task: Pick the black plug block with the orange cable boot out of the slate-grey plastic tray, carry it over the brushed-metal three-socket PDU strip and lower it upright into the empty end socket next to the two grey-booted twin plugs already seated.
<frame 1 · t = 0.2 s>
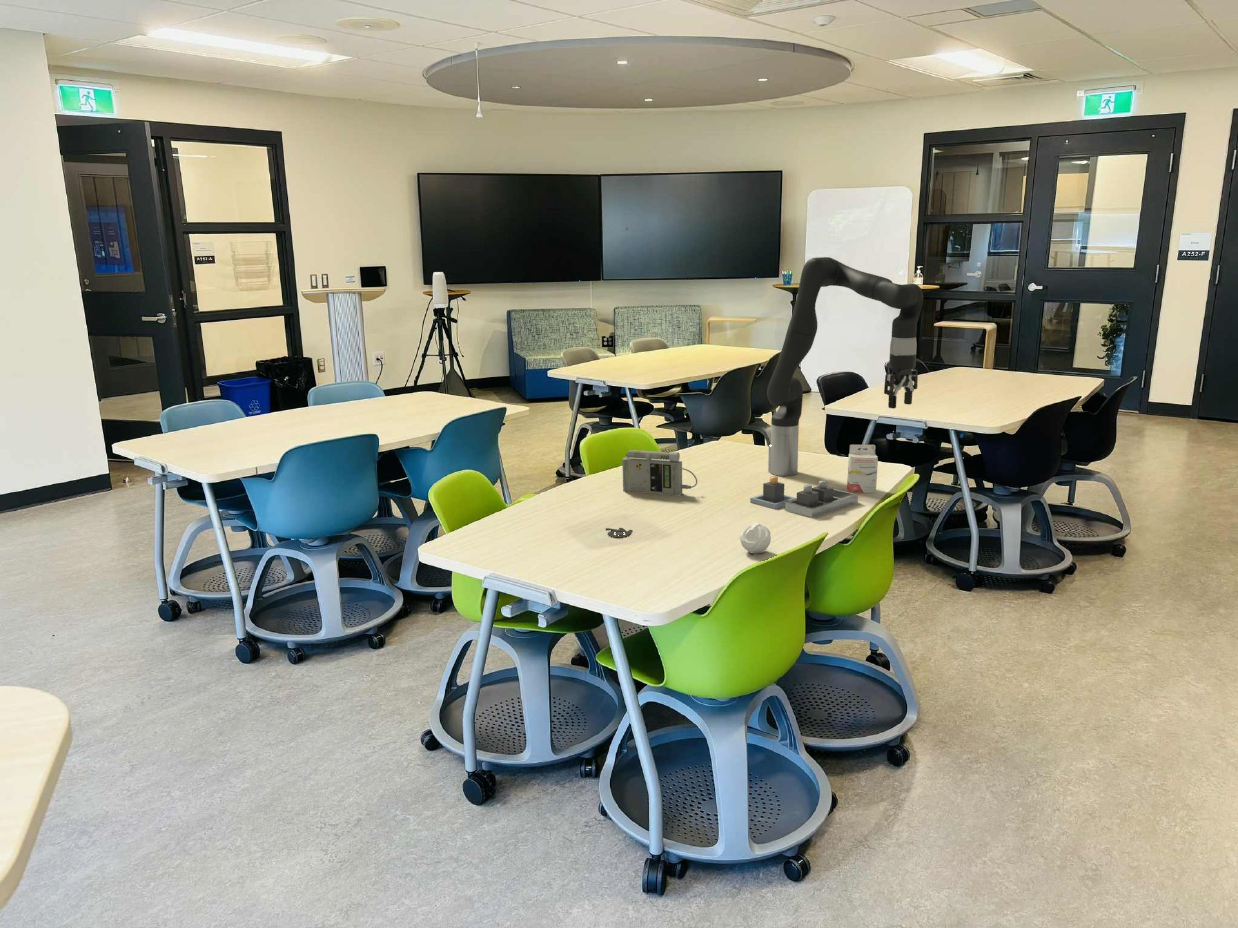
hand: (900, 406, 273), 29 cm above the table, fingers open, 8 cm apart
geiger counter: (660, 493, 294), on the table
twin plug b: (822, 494, 271), in the pdu strip
pdu strip: (821, 507, 272), on the table
twin plug a: (807, 511, 268), resting on pdu strip
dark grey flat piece: (614, 532, 256), on the table
plug: (773, 489, 277), in the tray
ink cartridge box: (861, 491, 290), on the table
crumpled white ball: (755, 553, 236), on the table
tray: (773, 503, 278), on the table
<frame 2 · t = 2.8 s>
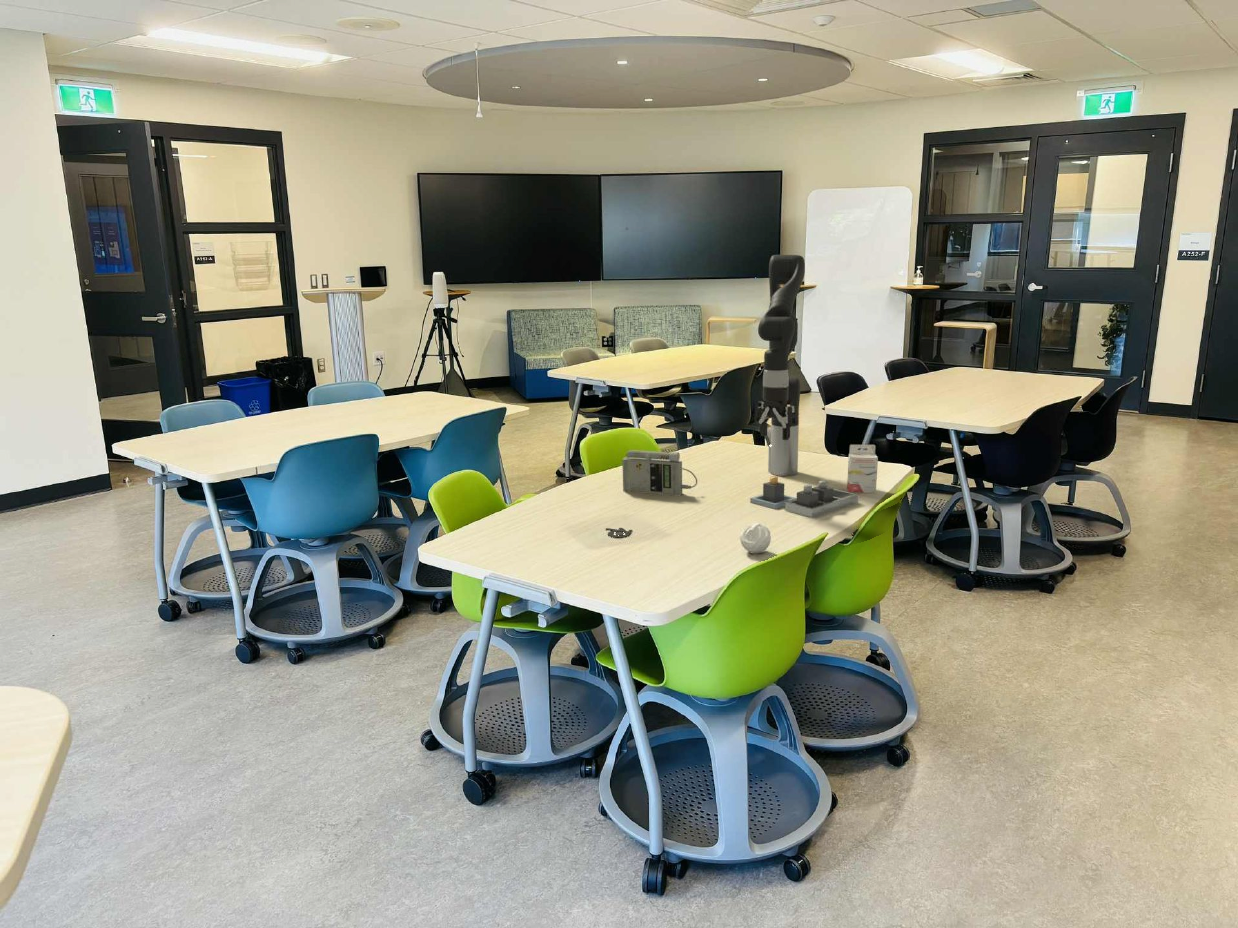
hand: (774, 437, 273), 21 cm above the table, fingers open, 8 cm apart
nothing on the table moved.
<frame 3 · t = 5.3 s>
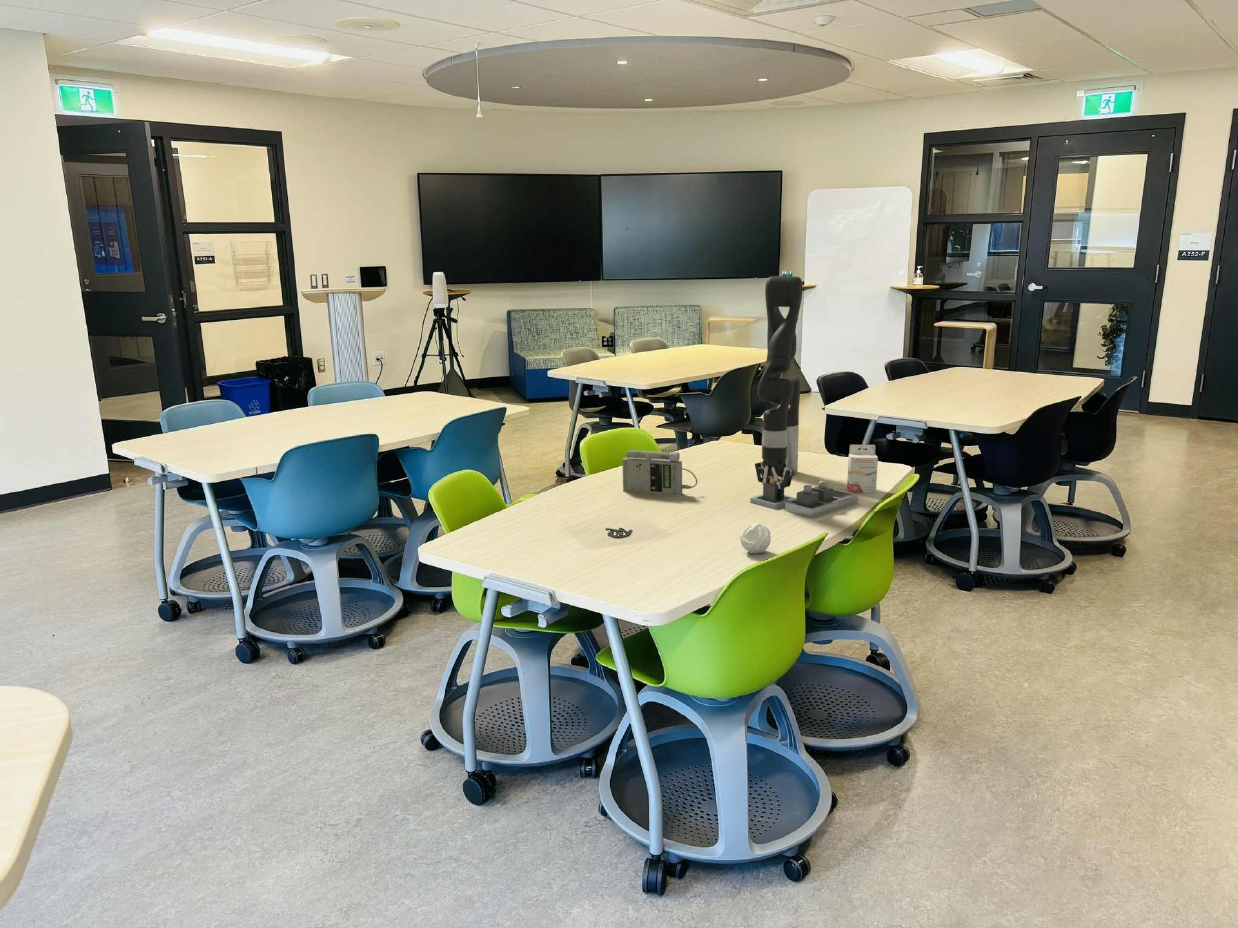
hand: (773, 498, 277), 2 cm above the table, fingers closed on plug, 4 cm apart
plug: (773, 489, 277), in the tray, touching gripper
everything else where it was.
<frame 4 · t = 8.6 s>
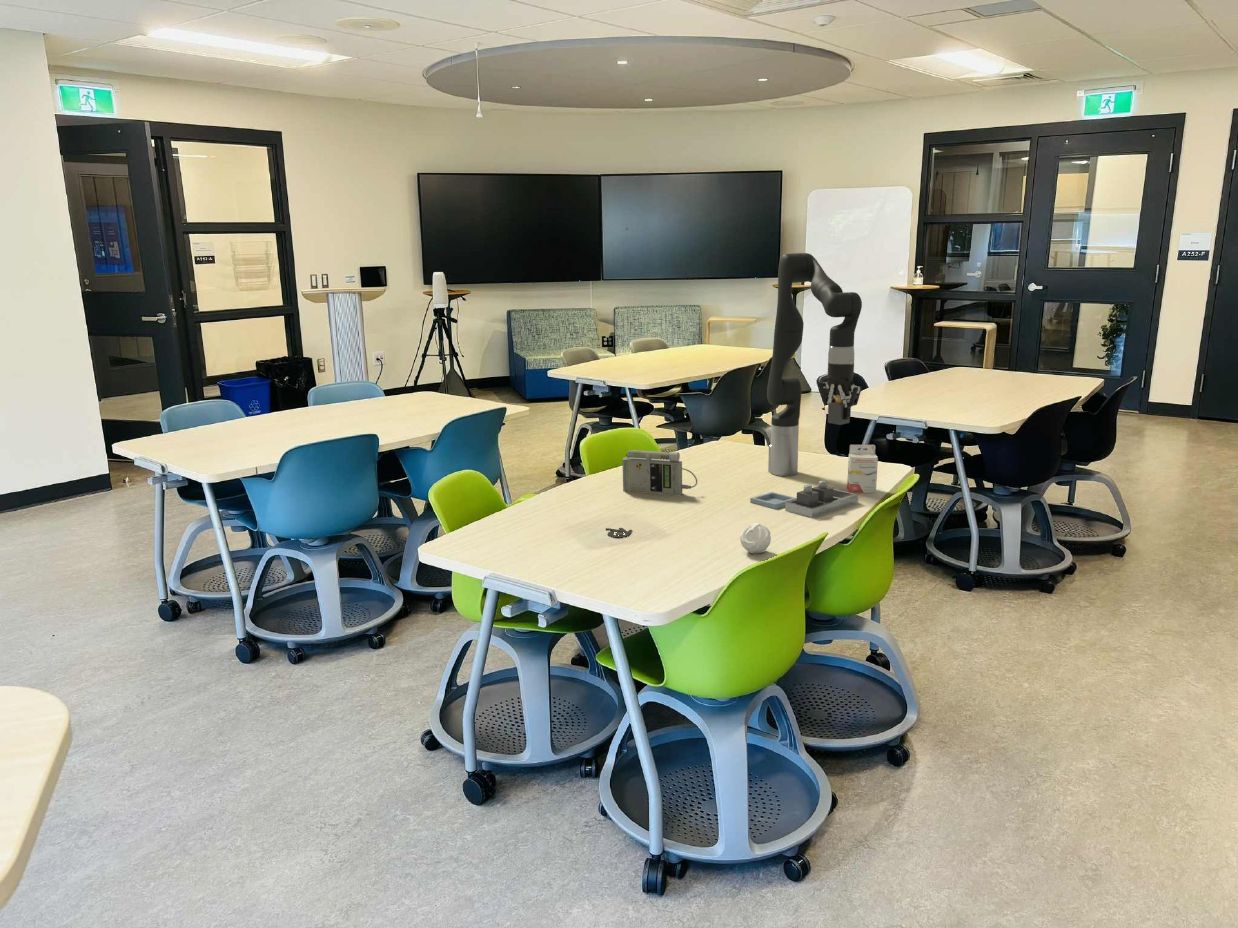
hand: (839, 418, 270), 27 cm above the table, fingers closed on plug, 4 cm apart
plug: (839, 409, 270), point 29 cm above the table, touching gripper
everything else where it was.
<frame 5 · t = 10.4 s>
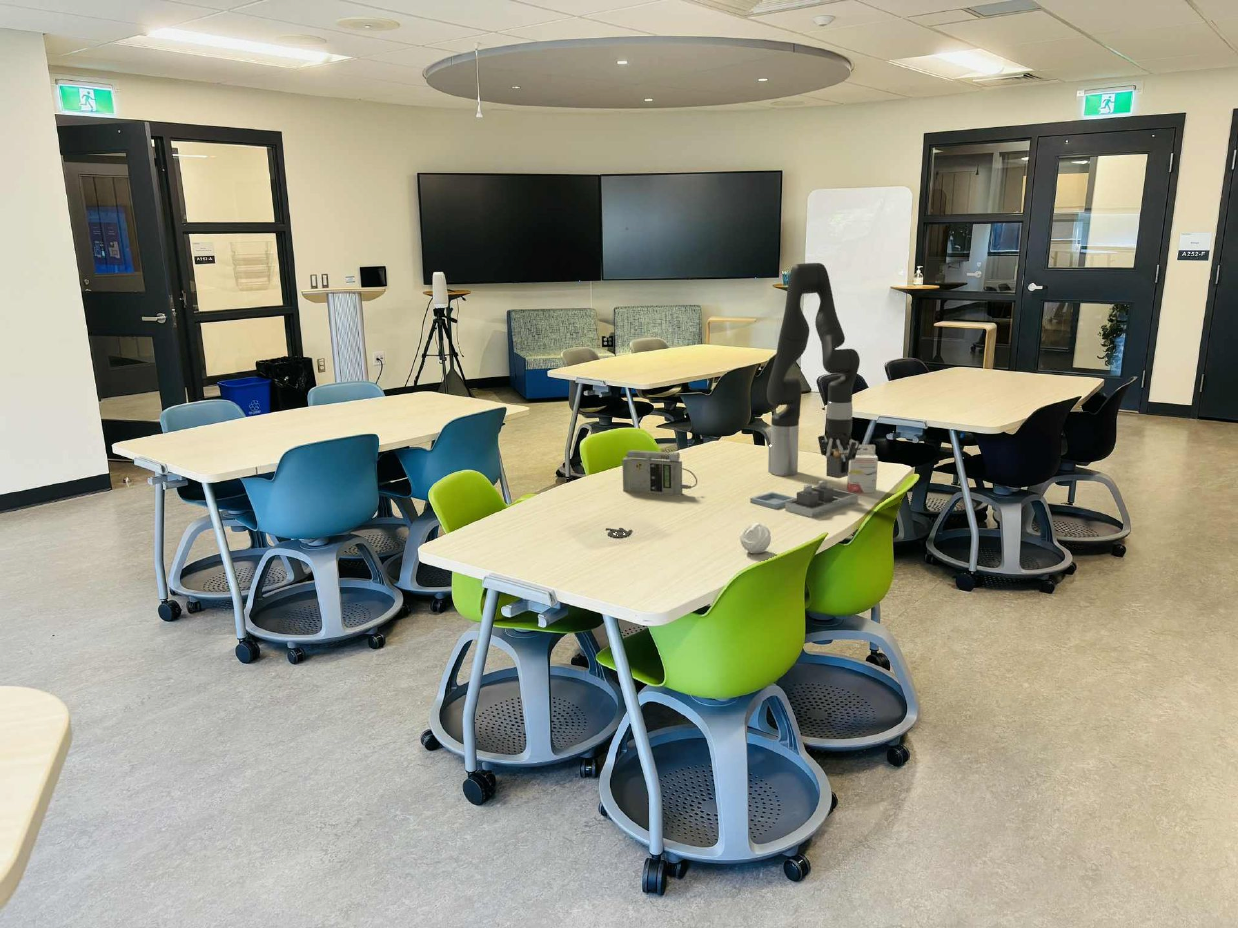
hand: (837, 471, 274), 10 cm above the table, fingers closed on plug, 4 cm apart
plug: (837, 463, 274), point 13 cm above the table, touching gripper
everything else where it was.
when the fingers open (3 cm above the table, at t = 11.9 s): plug drops 2 cm, resting on pdu strip.
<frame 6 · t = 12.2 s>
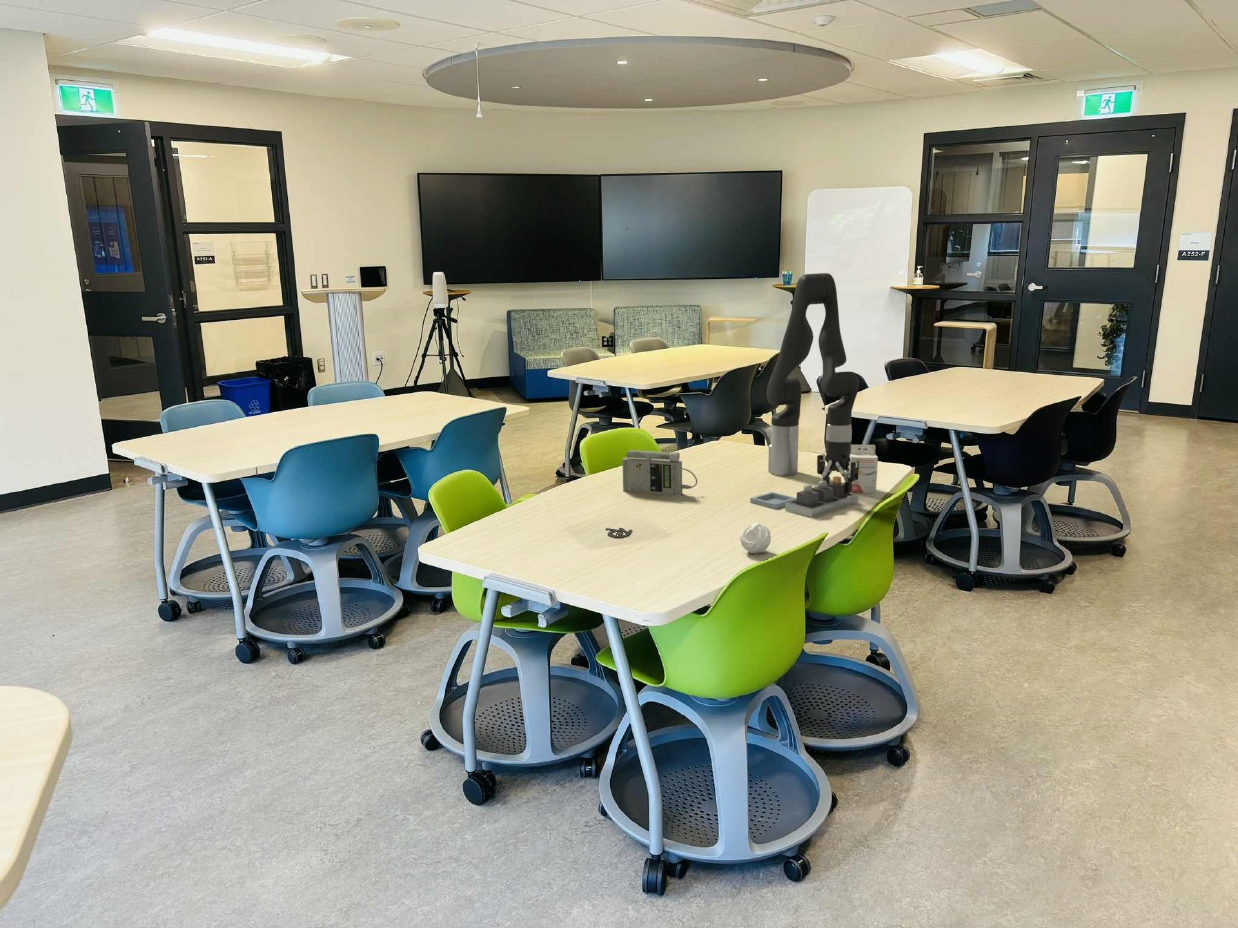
hand: (836, 491, 276), 4 cm above the table, fingers open, 7 cm apart
plug: (836, 490, 276), in the pdu strip
everything else where it was.
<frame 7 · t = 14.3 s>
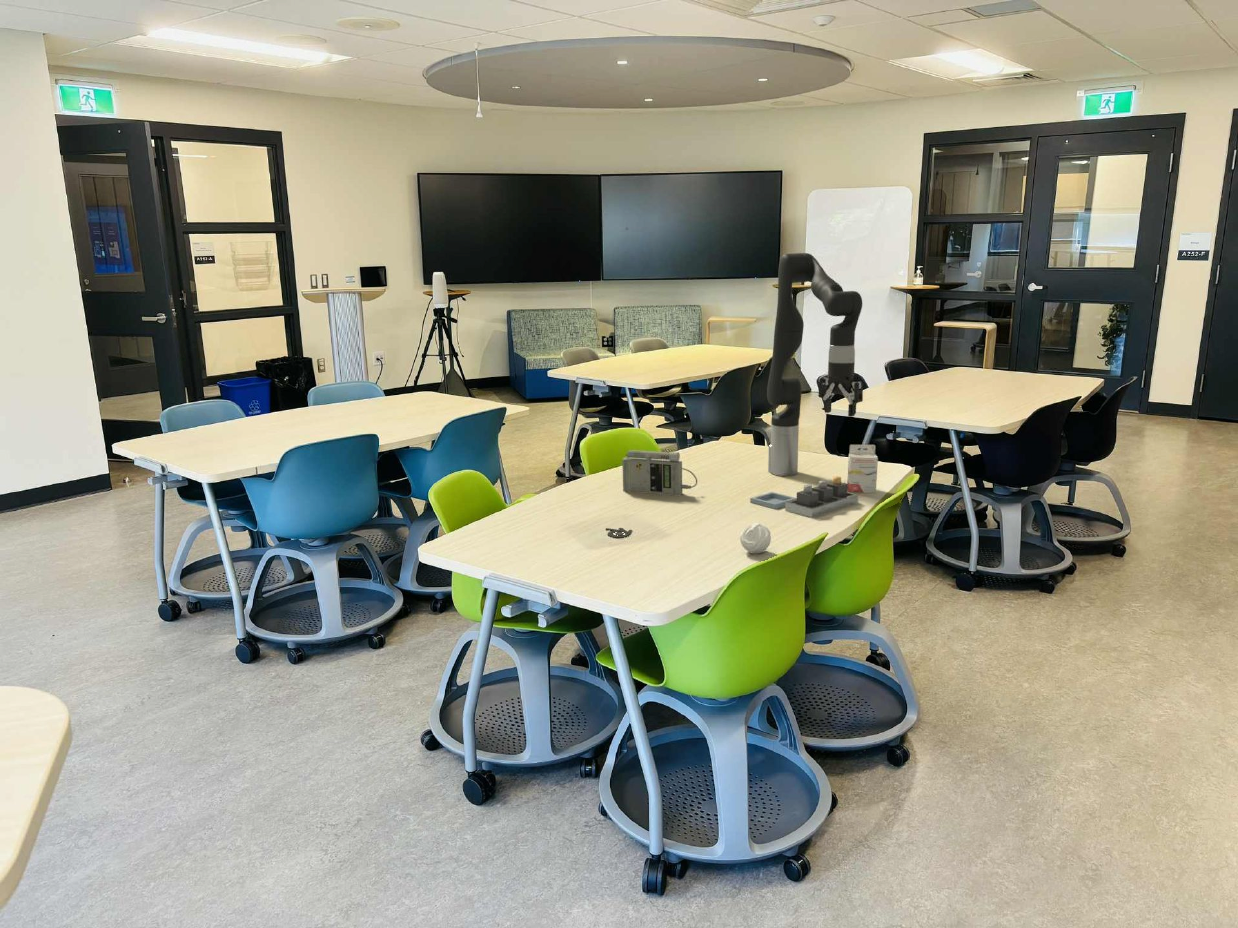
hand: (839, 414, 270), 28 cm above the table, fingers open, 8 cm apart
nothing on the table moved.
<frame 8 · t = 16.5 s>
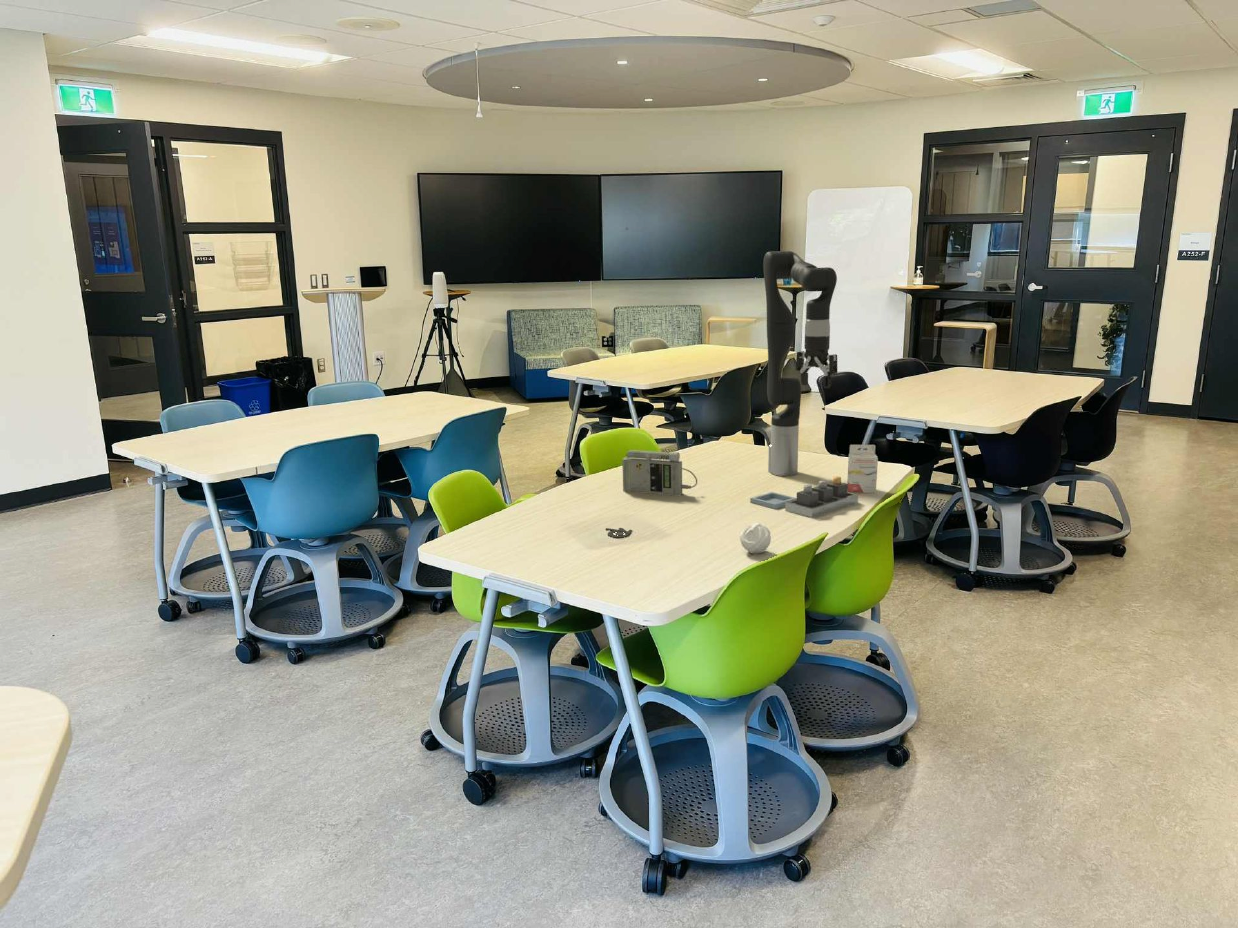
hand: (815, 386, 281), 34 cm above the table, fingers open, 8 cm apart
nothing on the table moved.
at the end: plug 0.0 cm from the target spot on the pdu strip, point 4.2 cm above the pdu strip's base; plug tilted 0°; the gripper is holding nothing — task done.
